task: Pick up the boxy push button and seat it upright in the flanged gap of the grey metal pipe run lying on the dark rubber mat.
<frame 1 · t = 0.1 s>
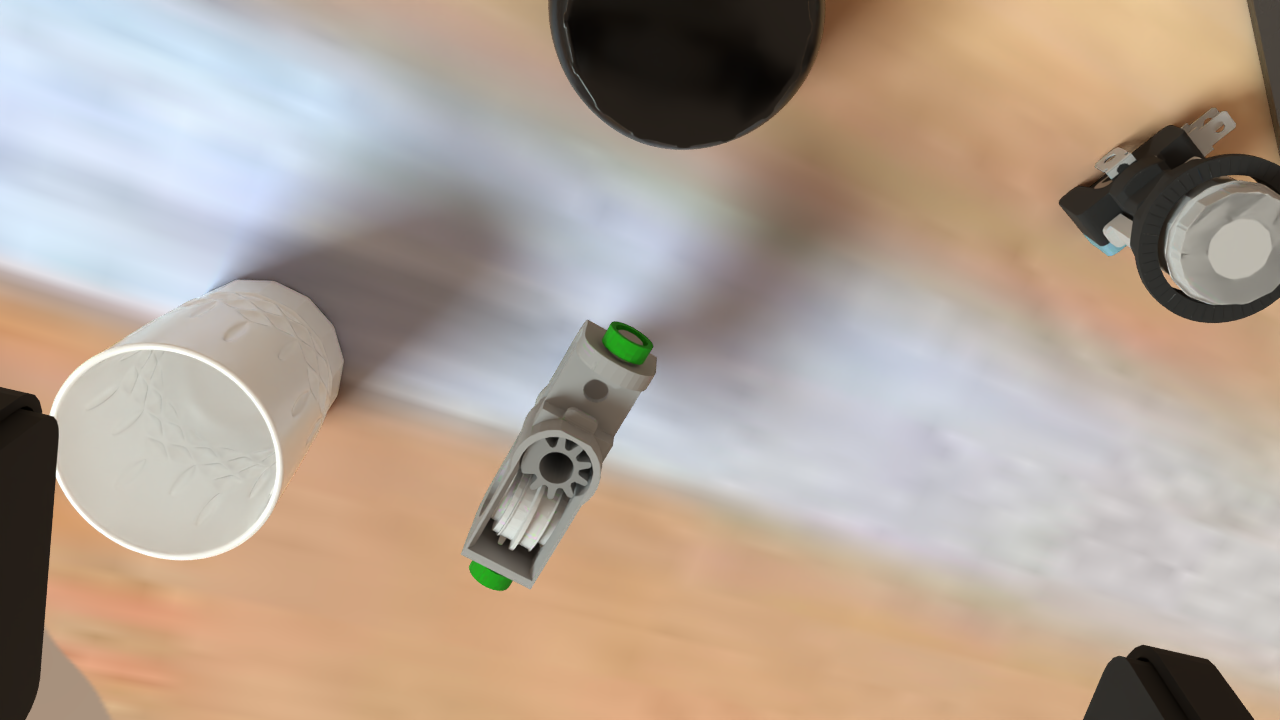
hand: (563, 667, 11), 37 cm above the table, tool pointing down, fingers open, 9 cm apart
ink bottle: (685, 1, 45), on the table
white cup: (264, 354, 50), on the table
mechanical component: (579, 367, 49), on the table
push button: (1138, 172, 46), on the table
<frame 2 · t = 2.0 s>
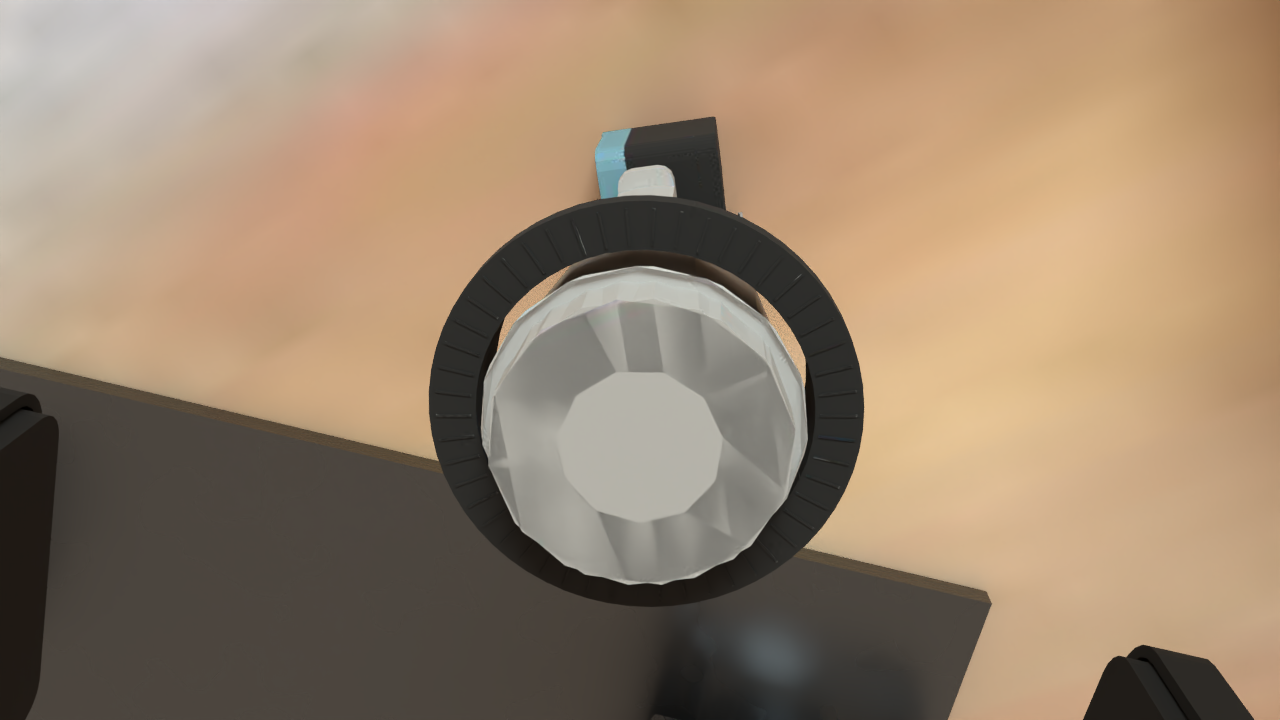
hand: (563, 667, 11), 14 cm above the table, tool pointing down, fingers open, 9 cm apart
pipe run: (294, 677, 27), on the table
push button: (672, 274, 24), on the table
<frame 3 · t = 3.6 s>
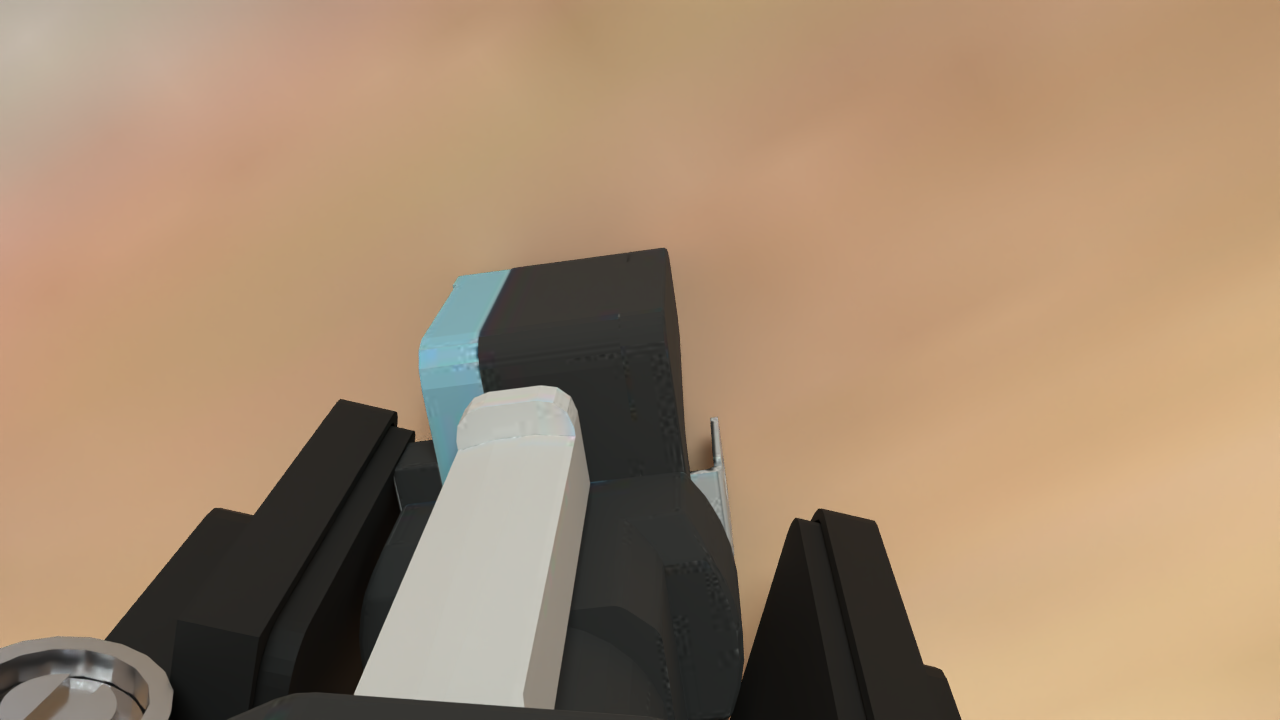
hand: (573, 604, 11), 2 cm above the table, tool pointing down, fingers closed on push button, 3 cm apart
push button: (595, 512, 13), on the table, touching gripper
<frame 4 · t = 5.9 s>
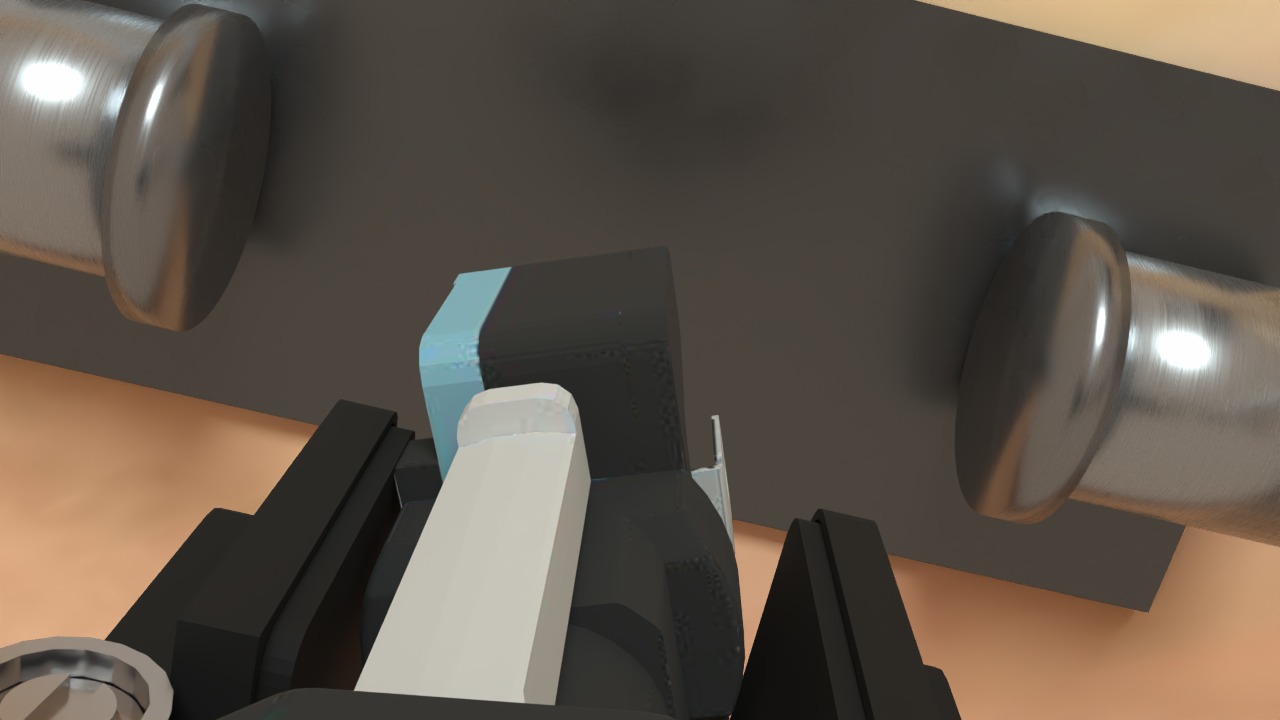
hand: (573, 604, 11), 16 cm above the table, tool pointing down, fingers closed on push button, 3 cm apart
pipe run: (628, 229, 26), on the table
push button: (596, 510, 13), point 14 cm above the table, touching gripper
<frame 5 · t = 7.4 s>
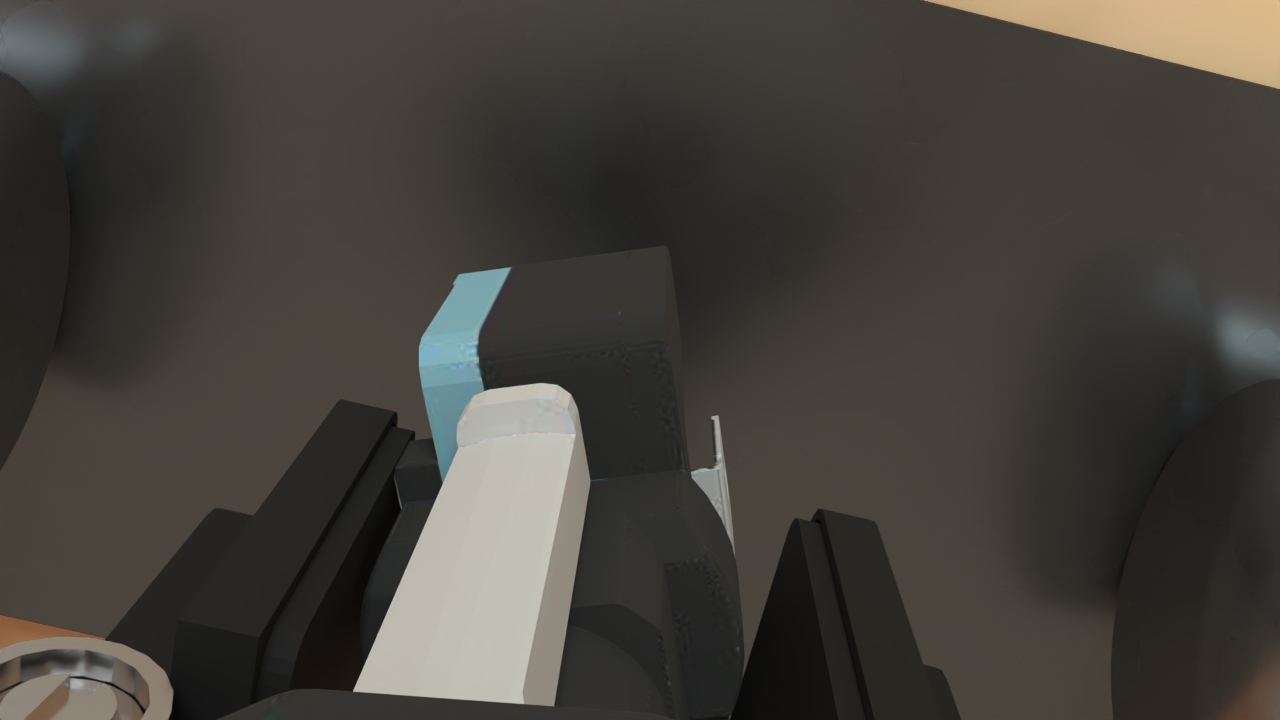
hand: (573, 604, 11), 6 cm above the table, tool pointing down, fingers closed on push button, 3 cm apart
pipe run: (618, 374, 18), on the table
push button: (596, 510, 13), point 4 cm above the table, touching gripper
when the fingers open (3 cm above the table, at t = 8.3 s): push button moves 1 cm, resting on pipe run.
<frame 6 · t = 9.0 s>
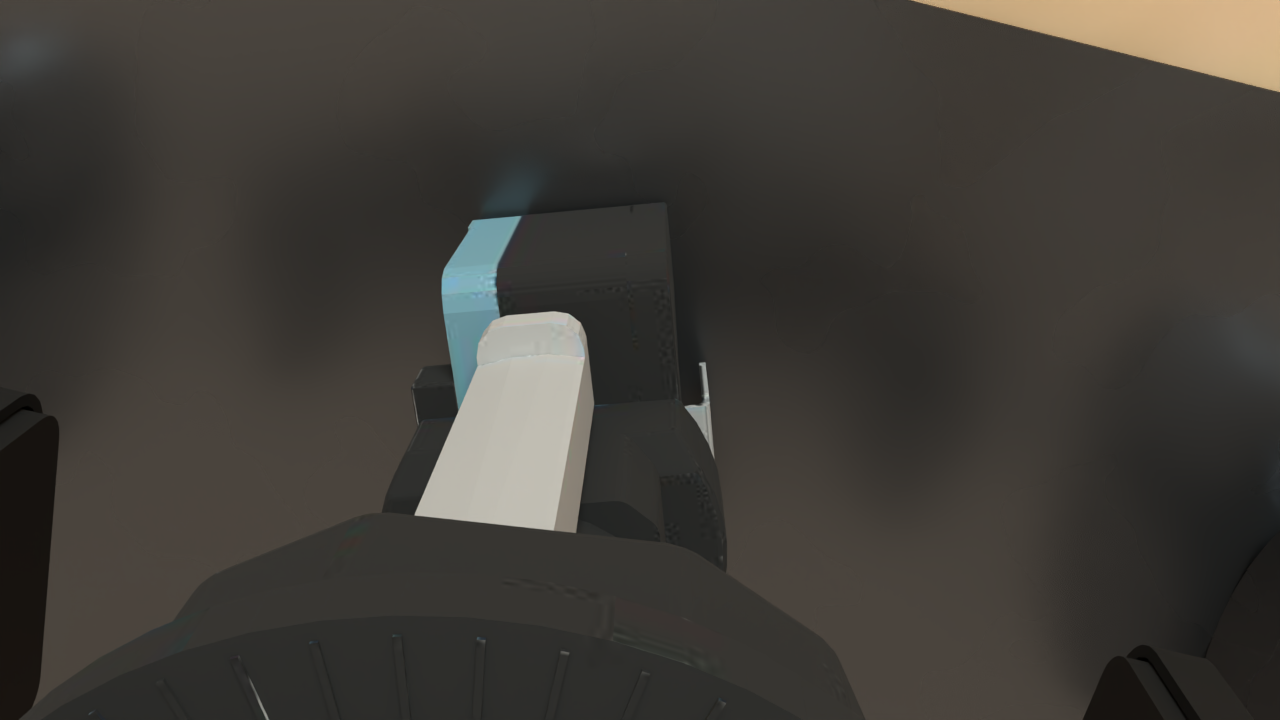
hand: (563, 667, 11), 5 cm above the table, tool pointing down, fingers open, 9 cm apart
pipe run: (597, 456, 15), on the table
push button: (586, 450, 14), resting on pipe run
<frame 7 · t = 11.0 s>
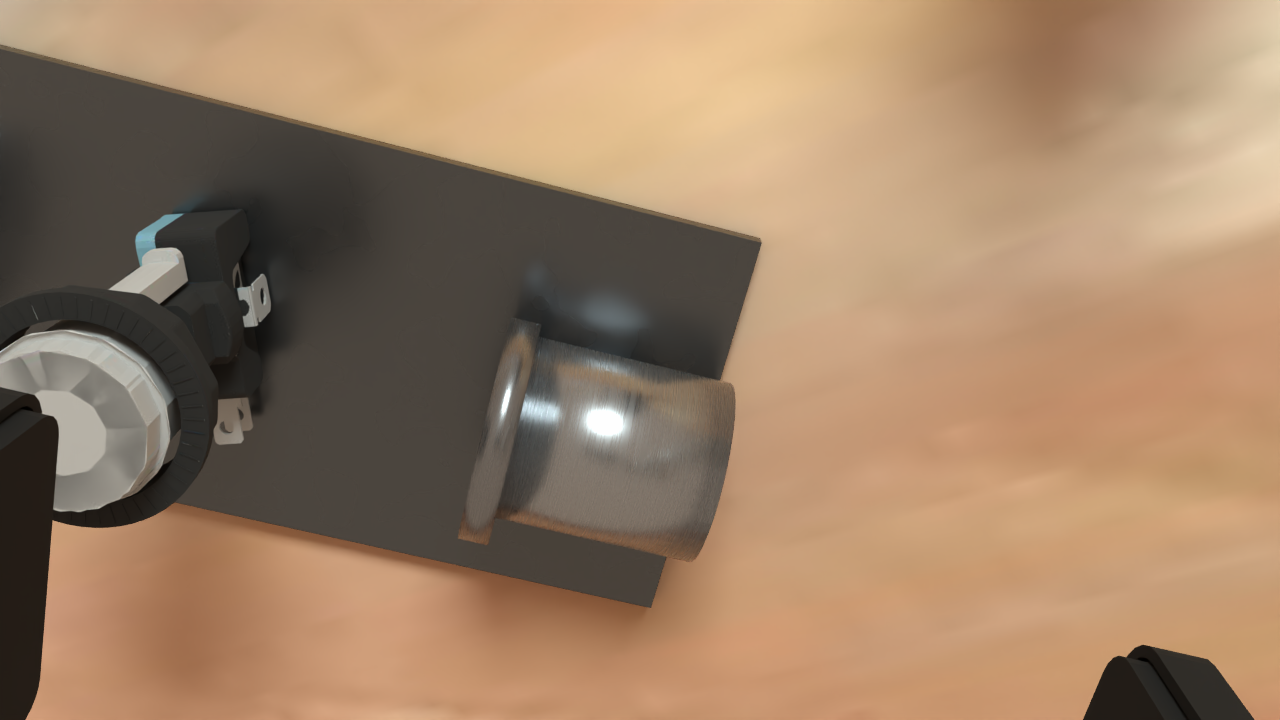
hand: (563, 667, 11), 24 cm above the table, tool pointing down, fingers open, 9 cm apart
pipe run: (231, 316, 35), on the table
push button: (223, 312, 34), resting on pipe run
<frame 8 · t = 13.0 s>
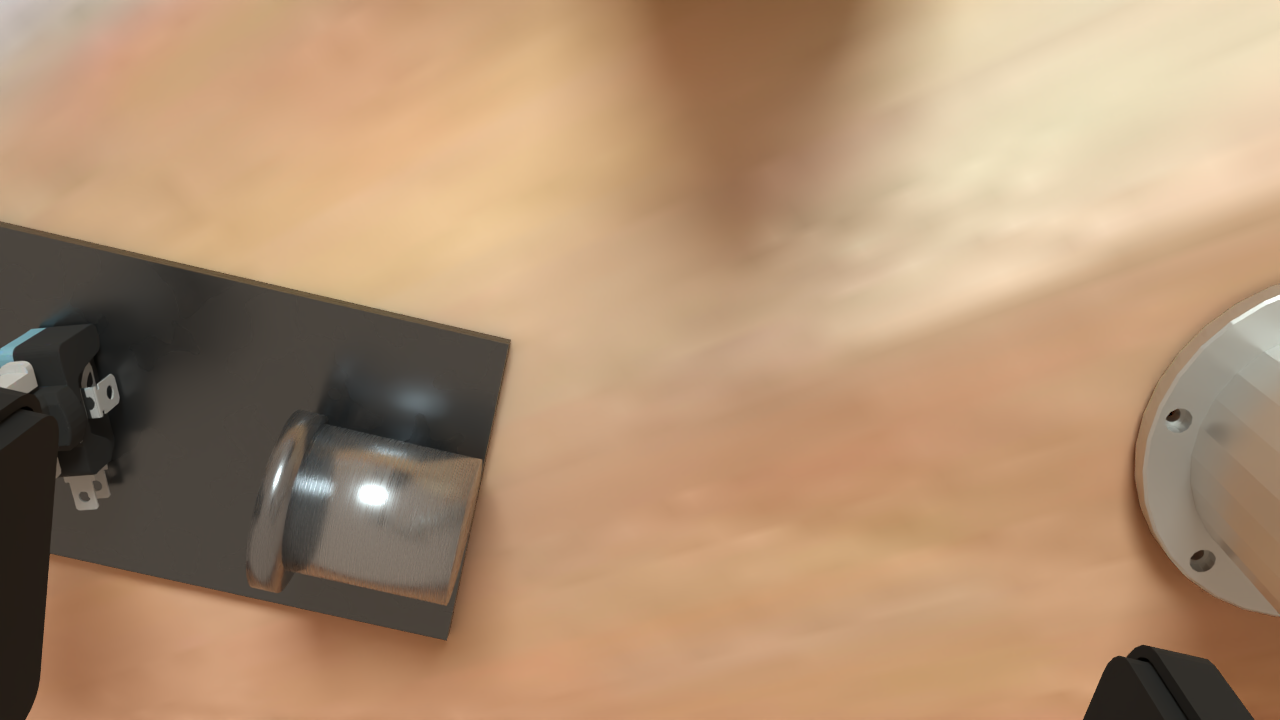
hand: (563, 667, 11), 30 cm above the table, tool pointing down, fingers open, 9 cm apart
pipe run: (92, 406, 43), on the table
push button: (84, 403, 43), resting on pipe run
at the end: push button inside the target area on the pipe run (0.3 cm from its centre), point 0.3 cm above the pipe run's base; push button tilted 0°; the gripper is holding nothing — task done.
